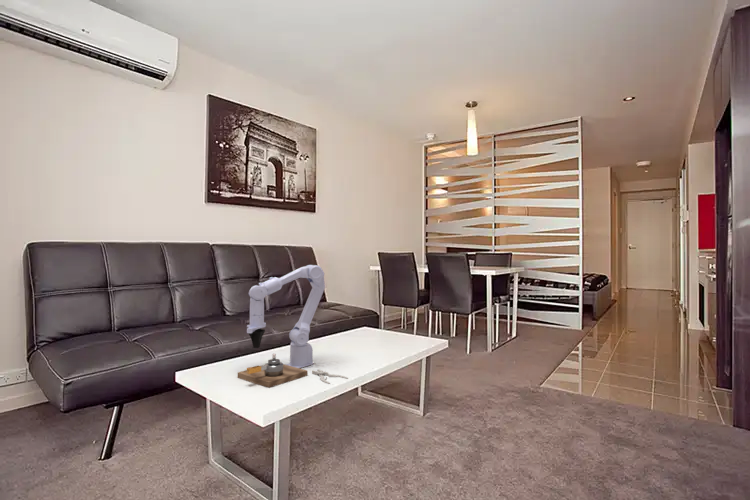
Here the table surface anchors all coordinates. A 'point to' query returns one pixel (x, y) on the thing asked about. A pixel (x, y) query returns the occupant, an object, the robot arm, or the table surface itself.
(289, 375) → the bench block
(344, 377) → the pliers
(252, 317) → the robot arm
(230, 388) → the table surface
